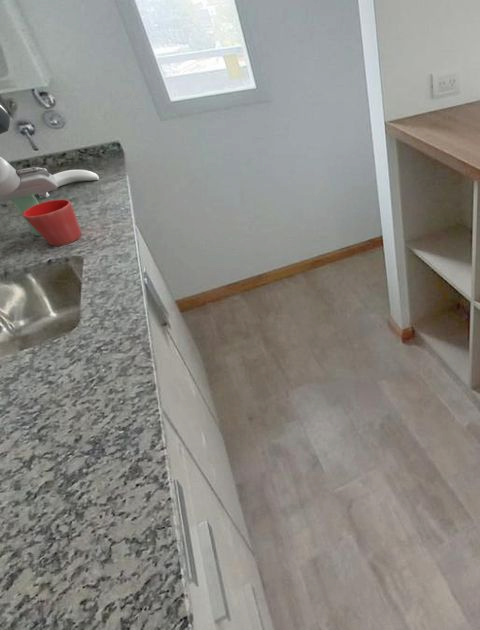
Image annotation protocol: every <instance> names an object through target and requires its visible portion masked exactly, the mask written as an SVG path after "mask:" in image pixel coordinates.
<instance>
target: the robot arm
mask: <svg viewBox="0 0 480 630" xmlns="http://www.w3.org/2000/svg"><path fill="white" fill-rule="evenodd" d="M10 124H11V117H10V114H9V113H8V111H7V110H6V109H5V107H3V106H2V105H1V104H0V135H2V134H4V133H7V132H9V129H10ZM52 175H53V174H52V173H50V172H49V171H48V170H47V168H44V167H40V166H39V167H38V166H36V167H35V166H33V167H32V166H31V167H27V168H21V169H15V167H13V166H12V165H11V164H10V163H9V162H8V161H7V160H5V159H4V158H3V157H2V156H0V208H1V209H4V208H8V207H9V204H8V202H7V201H11V200H12V199H16V198H21V197H25V196H30V195H34V196H35V195H38V197H39V199H41V200H45V199H48V197H49V196H47V194H46V193H47V192H48V191H49V192H51V191H55V190H58V188H59V187H58V184H57V182H56V179H55V178H54V176H52ZM49 192H48V193H49Z"/></svg>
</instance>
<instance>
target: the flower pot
mask: <svg viewBox="0 0 480 630" xmlns="http://www.w3.org/2000/svg"><path fill="white" fill-rule="evenodd" d="M23 216H24V217H25V219H26V220H27V221H28V222H29V223H30V224H31V225H32V226H33V227H34V228H35V229H36V230H37V231H38V232H39V233H40V234H41V236H42V238H43V239H45V240H46V242H48V243H49V244H50V245H51V246H54V247H58V246H65V245H68V244H72V243H73V242H76V241H77V240H79V239H80V238H81V237H82V235H83V234H82V231H81V228H80V225H79V222H78V219H77V216H76V213H75V211H74V208H73V206H72V203H71V201H70V200H68V199H54V200H47V201H44V202H39V204H37V205H35V206H32V207H30V208H28V209H27V210H25V211H24V212H23Z"/></svg>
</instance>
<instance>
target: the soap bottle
mask: <svg viewBox="0 0 480 630" xmlns="http://www.w3.org/2000/svg"><path fill="white" fill-rule="evenodd" d="M10 201H11V202H12V204H13V206H14V207H15V208H16V210H17V211H18V212H19V215H21V217H22V218H23V220H24V221H25V222H26V224H27V225H28V227H29V229H30V230H31V231H32V234H34V236H37V237H40V236H42V235H41V234H40V233H39V232H38V231H37V230H36V229H35V228H34V227H33V226H32V225H31V224H30V223H29V222H28V221H27V220H26V219H25V217H24V216H23V212H24V211H25V210H27V209H28V208H30V207H32V206H35V205H37V204H40V202H39V200H37V198H36V196H35V194H34V195H30V196H25V197H21V198H16V199H12V200H10Z"/></svg>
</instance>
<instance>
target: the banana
mask: <svg viewBox="0 0 480 630" xmlns="http://www.w3.org/2000/svg"><path fill="white" fill-rule="evenodd" d="M51 175H52V176H54V178H55V179H56V182H57V184H58V188H59V187H62V186H65V185H68V184H71V183H74V182H81V181H82V182H83V181H86V182H91V181H92V182H93V181H99V180H100V177H99V175H98V174H97V173H95V172H94V171H90V170H87V169H68V170H64V171H60V172H57V173H54V174H51ZM49 192H50V191H48V192H47V193H46V194H47V197H51V195H50V194H49Z"/></svg>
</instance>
